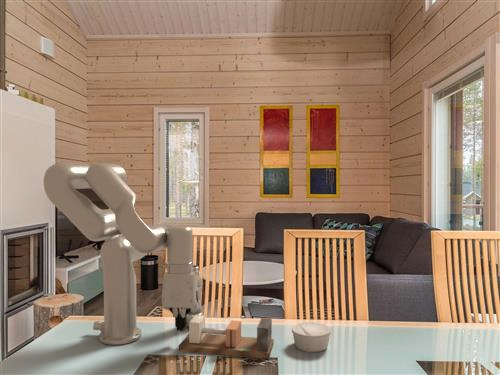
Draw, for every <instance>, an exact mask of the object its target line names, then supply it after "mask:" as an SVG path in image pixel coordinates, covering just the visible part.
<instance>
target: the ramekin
mask: <svg viewBox="0 0 500 375" xmlns="http://www.w3.org/2000/svg"><path fill="white" fill-rule="evenodd" d="M331 331H332V330H331V328H330V327H329V326H328V325H326V324H323V323H320V322H310V321H307V322H305V321H304V322H299V323H296V324H294V325H293V326H292V328H291V332H292V336H293V341H294V345H295V347H296V348H298V349H299V350H301V351H303V352H305V353H306V352H307V353H320V352H323V351H324V350H326V349H327V348H328V346H329V341H330V337H331V334H332V332H331Z"/></svg>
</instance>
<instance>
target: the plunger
mask: <svg viewBox="0 0 500 375" xmlns="http://www.w3.org/2000/svg"><path fill="white" fill-rule="evenodd" d="M188 334H189V343H200V342H201V340H202V339H203V338H204V336H205V334H214V335H226V328H217V327H216V328H212V327H206V315H203V316H201V315H195V316H194V317H193V319H192V320H191V321H190V322H189V327H188Z"/></svg>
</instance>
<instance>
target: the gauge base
mask: <svg viewBox="0 0 500 375" xmlns="http://www.w3.org/2000/svg"><path fill="white" fill-rule="evenodd" d="M272 326H273V325H272V318H270V317H269V318H268V317H261V318H260V320H259V323H258V325H257V327H256V337H251V336H241V339H240V341H239V343H238V345H237V347H231V349H229V347H227V346H226V335H219V334H206V333H205V336H204V338H203V339H202V340H201V342H200V343H189V333H188V334H187V335H186V336H185V338H184V339H183V340H182V341H181V342H180V343H179V345H178V352H188V353H198V354H209V355H221V356H222V355H223V356H231V357H242V358H243V357H245V358H253V359H254V358H256V359H266V360H267V359H268V360H269V359H270V357H271V353H272V351H273V348H274V347H273V346H274V345H275V344H274V342H275V341H274V340H275V339H273V338H272V337H273V336H272V330H273V327H272Z"/></svg>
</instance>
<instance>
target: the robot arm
mask: <svg viewBox="0 0 500 375" xmlns="http://www.w3.org/2000/svg"><path fill="white" fill-rule="evenodd" d="M127 181H128V176H127V172H126V171H125V169H124V168H123V167H122V166H121V165H119V164H116V163H108V162H107V163H105V162H99V163H91V162H90V163H89V162H88V163H87V162H84V163H83V162H65V161H64V162H58V163H54V164H52V165H50V166H49V167H48V168H47V169H46V170H45V173H44V175H43V188H44V192H45V194H46V196H47V198H48V199H49V201H50V202H51V203H52V204H53V206H54V207H56V208H57V209H58V210H59V211H60V212H61V213H62V214H63V215H64V216H65V217H66V218H67V219H68V220H69V222H71V223H72V224H73V225H74V227H76V228H77V229H78V230H79V231H80V233H81V234H83V235H84V237H85V238H86V239H88V241H89V240H90V241H92V242H100V241H101V242H102V241H104V242H103V244H102V245H101V248H100V252H99V254H100V262H101V265H102V271H103V272H102V273H103V321H102V320H101V321H100V320H99V321H98V320H95V321H94V322H93V327H92V329H93V330H94V331H100V333H99V334H98V341H99V342H101V343H102V344H104V345H111V346H112V345H114V346H115V345H116V346H117V345H118V346H119V345H125V344H129V343H130V344H131V343H132V342H133V343H134V342H135V341H137V340H138V339H140V338H141V337H142V334H143V333H142V329H141V328H139V327H137V275H136V271H135V268H134V265H133V263H134V262H136V261H139V260H140V259H143V258H144V257H145V256H146V255H147V254H152V253H155V252H157V251H160V250H163V249H166V263H163V264H162V268H163V269H166V272H164V274H163V280H162V289H161V305H162V308H163V309H164V310H166V311H169V312H170V313H171V314H172V315H173V317H174V325H175V328H176V332H183V331H184V330H185V329H186V328H187V327H186V326H187V314H188V313H189V312H193V311H197V310H198V309H199V307H198V285H197V279H196V274H195V272H193V265H194V256H193V255H194V248H193V247H194V244H193V241H194V240H193V236H194V235H193V229H192V227H190V226H187V225H168V224H163V223H158V224H153V225H150V226H149V225H147V224H146V223H145V222H144V221H143V220H142V219H141V217H140V216H139V215H138V214H137V212H136V209H135V204H136V202H137V199H138V197H137V194H136V193H135V191H133V190H132V189H131V187H129V185H128V184H127ZM81 189H82V190H83V189H91V190H92V191H93V192H94V193H95V194H96V195H97V196H98V197H99V199H101V201H103V203H104V204H105V205H106V206H107V207H108V208H107V209H103V208H99V207H98V206H97V205H96V204H94V202H92V200H90V198H89V197H87V195H85V194H83V193H81V192H80V191H79V190H81Z"/></svg>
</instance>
